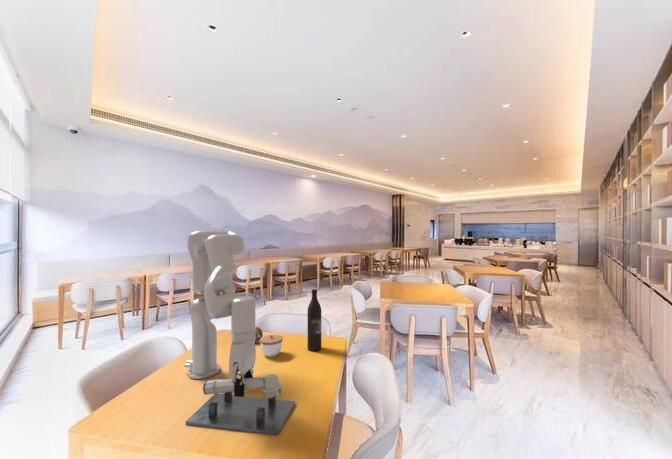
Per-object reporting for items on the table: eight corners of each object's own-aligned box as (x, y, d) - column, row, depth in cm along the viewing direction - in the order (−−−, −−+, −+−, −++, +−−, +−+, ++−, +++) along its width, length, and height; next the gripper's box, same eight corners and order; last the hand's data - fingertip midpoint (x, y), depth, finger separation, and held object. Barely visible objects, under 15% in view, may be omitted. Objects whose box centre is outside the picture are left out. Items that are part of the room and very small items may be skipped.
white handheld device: (209, 377, 100) (281, 368, 98) (211, 397, 99) (284, 388, 98) (201, 385, 94) (277, 376, 93) (203, 406, 94) (280, 397, 93)
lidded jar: (256, 354, 144) (256, 334, 144) (275, 348, 151) (275, 329, 151) (267, 361, 136) (267, 340, 136) (286, 354, 143) (286, 335, 143)
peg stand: (185, 424, 91) (185, 408, 91) (215, 396, 107) (215, 382, 107) (278, 435, 86) (278, 418, 86) (295, 404, 102) (295, 389, 102)
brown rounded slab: (234, 342, 159) (234, 326, 159) (237, 340, 162) (237, 325, 162) (260, 344, 156) (261, 328, 156) (263, 342, 159) (263, 326, 159)
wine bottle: (310, 352, 145) (310, 291, 145) (305, 347, 152) (305, 289, 152) (323, 350, 148) (323, 290, 148) (318, 345, 154) (318, 288, 155)
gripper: (245, 326, 106) (245, 377, 105) (218, 344, 89) (218, 405, 88) (265, 327, 104) (265, 379, 104) (241, 345, 88) (241, 407, 87)
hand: (243, 390), depth 96 cm, fingers closed on white handheld device, 5 cm apart
